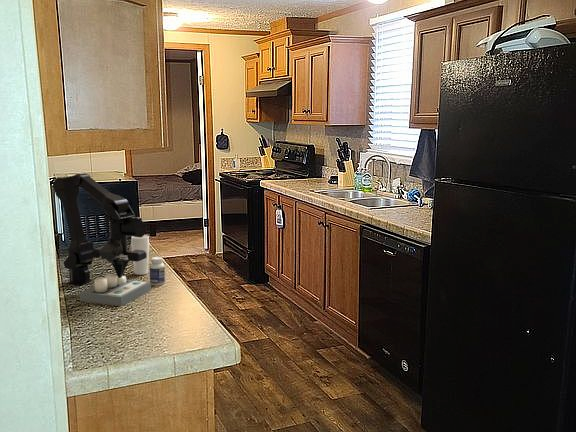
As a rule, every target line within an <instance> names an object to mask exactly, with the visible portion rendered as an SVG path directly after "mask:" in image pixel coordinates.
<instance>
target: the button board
mask: <svg viewBox="0 0 576 432" xmlns="http://www.w3.org/2000/svg"><path fill="white" fill-rule="evenodd" d="M151 291H152V285H151V282H150V281H142V280H133V279H126V283H125V284H123V285H120V284H117V286H116V287H113V288H108V290H107V291H106V292H95V285H93V286H91V287H89V288H86V289H84V290H82V291H80V292H79V302H85V303H93V304H103V305H109V306H117V307H123V306H125V305H127V304H129V303H130V302H132V301H134V300H136V299H137V298H139V297H141V296H143V295H145V294H148V292H151Z"/></svg>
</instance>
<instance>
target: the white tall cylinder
mask: <svg viewBox="0 0 576 432" xmlns="http://www.w3.org/2000/svg"><path fill="white" fill-rule="evenodd" d="M130 237H131V238H130V239H131V240H130V243H131V244H130V246H131V251H134V250H145V252H146V254H147V258H145V259H143V260H141V261H137V262H136V261H132V262H133V272H134V275H136V276H144V275H147V274H148V273H149V257H150V236H149V235H147V234H144V236H142V237H133V236H130Z"/></svg>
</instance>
